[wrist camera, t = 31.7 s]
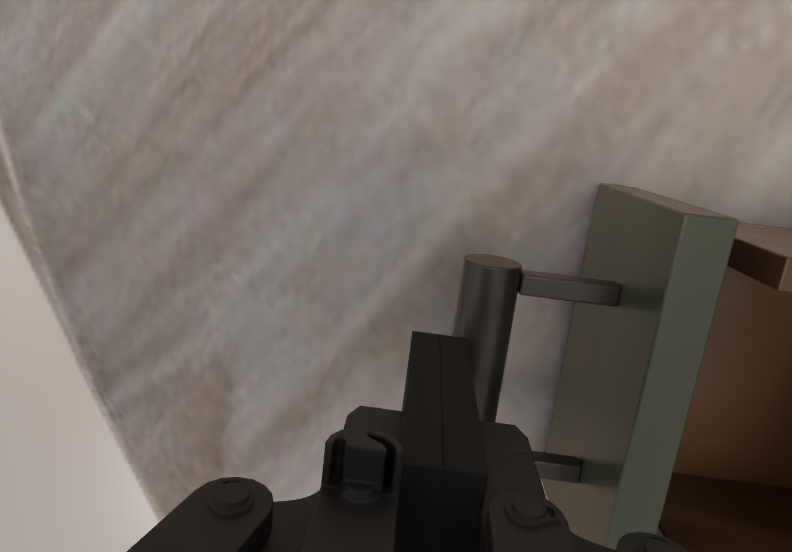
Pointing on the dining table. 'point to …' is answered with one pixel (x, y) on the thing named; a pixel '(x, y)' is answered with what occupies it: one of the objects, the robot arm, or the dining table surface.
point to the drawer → (658, 374)
